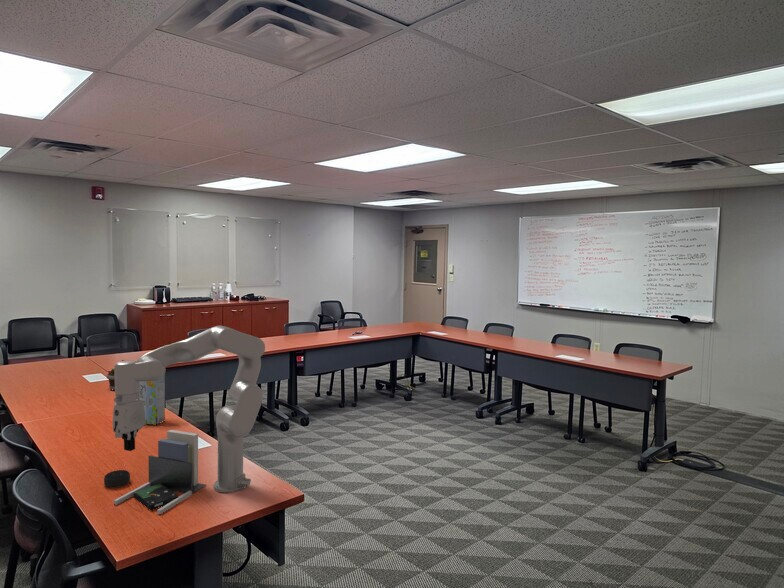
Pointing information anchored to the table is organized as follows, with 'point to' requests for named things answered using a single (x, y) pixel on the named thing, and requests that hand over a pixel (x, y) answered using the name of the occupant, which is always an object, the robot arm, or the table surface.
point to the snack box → (153, 400)
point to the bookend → (172, 474)
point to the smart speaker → (116, 478)
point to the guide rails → (161, 507)
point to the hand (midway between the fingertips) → (129, 449)
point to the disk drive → (155, 496)
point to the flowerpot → (111, 379)
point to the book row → (181, 449)
